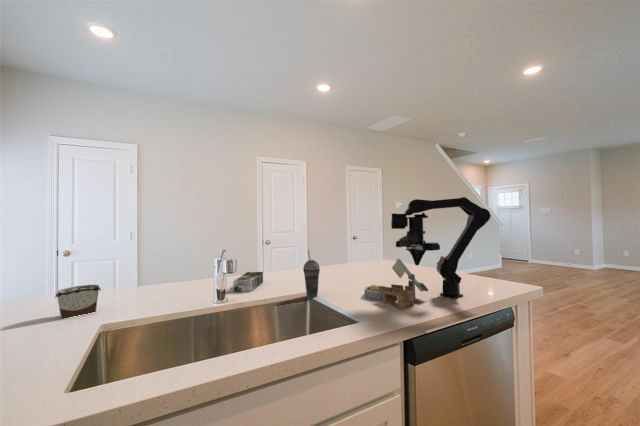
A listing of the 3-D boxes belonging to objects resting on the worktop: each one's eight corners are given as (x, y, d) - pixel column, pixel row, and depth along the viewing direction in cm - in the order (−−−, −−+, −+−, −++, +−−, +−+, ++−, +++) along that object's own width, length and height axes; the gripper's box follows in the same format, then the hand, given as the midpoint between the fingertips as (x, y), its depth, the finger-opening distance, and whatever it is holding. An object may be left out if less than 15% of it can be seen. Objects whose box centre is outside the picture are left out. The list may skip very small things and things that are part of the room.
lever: (413, 298, 107) (420, 287, 109) (421, 301, 103) (428, 290, 105) (388, 267, 101) (396, 256, 103) (396, 268, 98) (403, 257, 100)
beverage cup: (318, 299, 109) (317, 250, 110) (301, 298, 111) (300, 250, 111) (322, 294, 116) (321, 248, 117) (306, 293, 118) (305, 248, 118)
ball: (382, 289, 111) (378, 294, 113) (376, 281, 113) (373, 287, 116) (374, 291, 109) (371, 297, 111) (369, 284, 112) (366, 289, 114)
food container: (99, 308, 105) (99, 282, 105) (100, 311, 100) (100, 285, 100) (55, 316, 96) (55, 289, 96) (55, 321, 91) (54, 292, 92)
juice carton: (252, 292, 122) (252, 279, 122) (231, 293, 123) (231, 279, 123) (264, 282, 142) (263, 271, 142) (246, 283, 143) (245, 271, 143)
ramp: (392, 298, 108) (392, 280, 108) (414, 305, 98) (413, 286, 98) (380, 300, 105) (379, 282, 105) (400, 308, 95) (400, 289, 95)
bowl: (379, 291, 119) (379, 284, 119) (396, 297, 109) (396, 289, 109) (360, 294, 114) (360, 287, 114) (376, 301, 104) (376, 293, 104)
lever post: (412, 298, 107) (411, 279, 107) (419, 301, 103) (419, 281, 103) (404, 300, 105) (404, 280, 105) (412, 303, 101) (411, 282, 101)
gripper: (386, 228, 117) (387, 264, 117) (422, 230, 101) (423, 271, 101) (403, 228, 123) (404, 261, 122) (440, 229, 107) (441, 267, 106)
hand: (416, 265), depth 113 cm, fingers closed
